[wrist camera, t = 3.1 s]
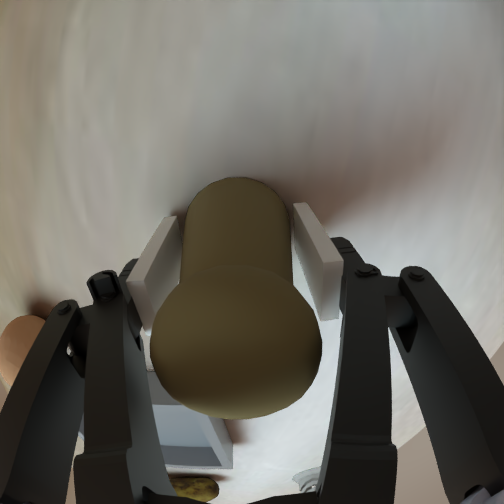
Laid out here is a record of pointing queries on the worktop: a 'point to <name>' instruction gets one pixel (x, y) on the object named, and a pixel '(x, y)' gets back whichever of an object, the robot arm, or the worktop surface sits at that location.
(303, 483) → the french press
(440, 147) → the worktop surface
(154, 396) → the grey bin
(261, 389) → the cork
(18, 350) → the egg
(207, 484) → the potato
